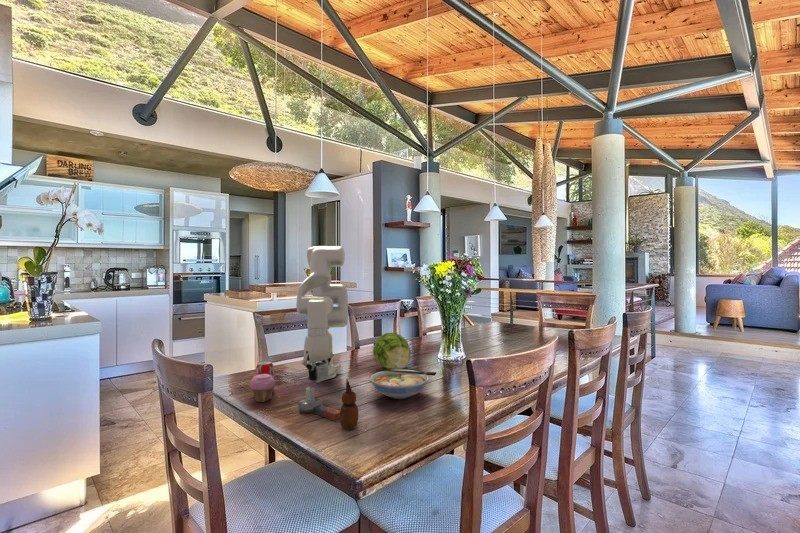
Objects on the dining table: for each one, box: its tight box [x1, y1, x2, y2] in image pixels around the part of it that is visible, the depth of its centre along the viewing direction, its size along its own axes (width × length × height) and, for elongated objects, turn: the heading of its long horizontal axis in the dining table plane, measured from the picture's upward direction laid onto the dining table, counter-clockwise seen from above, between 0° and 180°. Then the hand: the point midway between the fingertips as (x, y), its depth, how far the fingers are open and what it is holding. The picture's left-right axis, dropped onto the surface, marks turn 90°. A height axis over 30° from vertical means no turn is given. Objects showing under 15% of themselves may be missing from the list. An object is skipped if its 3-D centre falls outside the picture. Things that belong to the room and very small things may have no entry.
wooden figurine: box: [339, 378, 359, 431], centre depth 129 cm, size 7×6×15 cm
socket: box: [308, 361, 329, 383], centre depth 158 cm, size 5×5×6 cm
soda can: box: [255, 360, 275, 392], centre depth 164 cm, size 7×7×12 cm
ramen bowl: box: [369, 368, 437, 400], centre depth 158 cm, size 25×23×8 cm
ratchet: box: [298, 386, 340, 422], centre depth 141 cm, size 8×19×8 cm, turn 50°
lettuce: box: [373, 332, 412, 370], centre depth 197 cm, size 17×23×17 cm
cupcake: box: [249, 374, 276, 403], centre depth 155 cm, size 9×9×10 cm
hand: (318, 377), depth 158 cm, fingers closed on socket, 5 cm apart
